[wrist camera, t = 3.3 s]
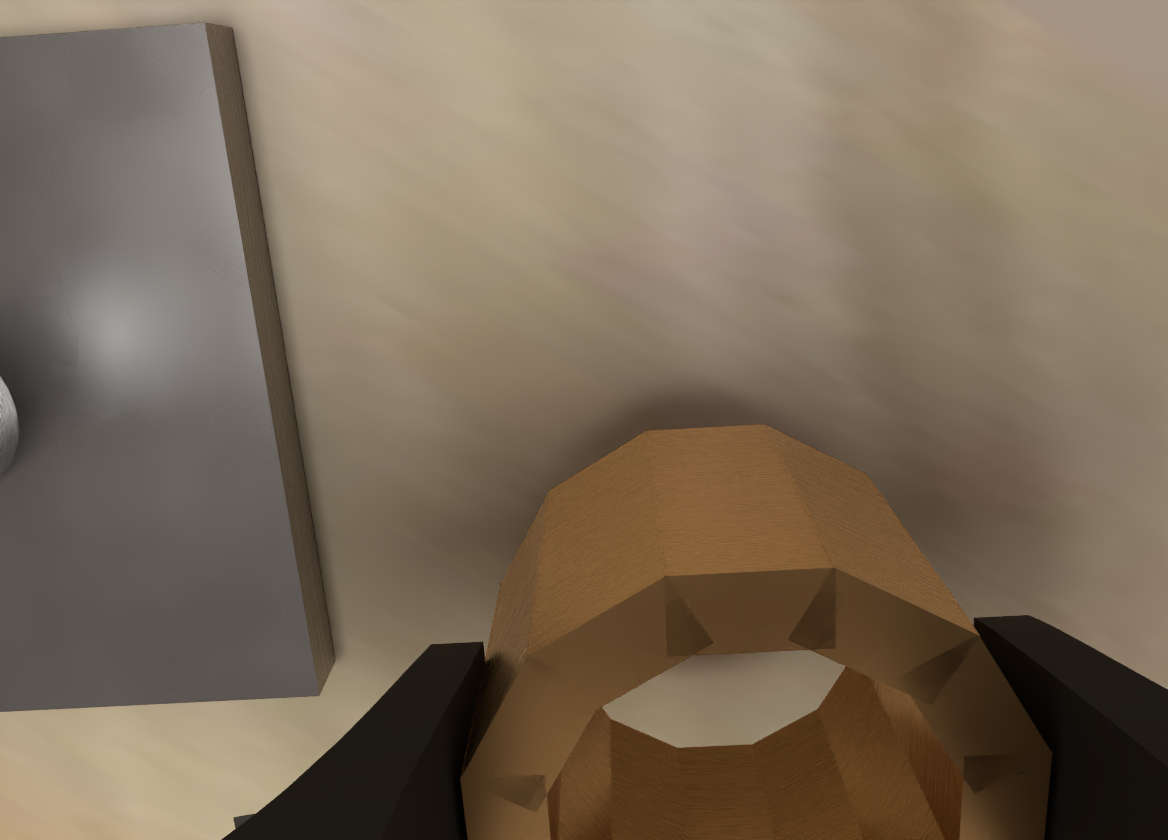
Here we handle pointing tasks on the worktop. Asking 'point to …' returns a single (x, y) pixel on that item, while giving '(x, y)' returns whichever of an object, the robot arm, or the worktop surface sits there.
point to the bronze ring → (740, 625)
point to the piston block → (144, 387)
